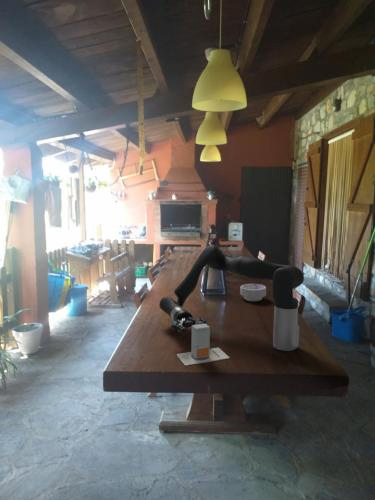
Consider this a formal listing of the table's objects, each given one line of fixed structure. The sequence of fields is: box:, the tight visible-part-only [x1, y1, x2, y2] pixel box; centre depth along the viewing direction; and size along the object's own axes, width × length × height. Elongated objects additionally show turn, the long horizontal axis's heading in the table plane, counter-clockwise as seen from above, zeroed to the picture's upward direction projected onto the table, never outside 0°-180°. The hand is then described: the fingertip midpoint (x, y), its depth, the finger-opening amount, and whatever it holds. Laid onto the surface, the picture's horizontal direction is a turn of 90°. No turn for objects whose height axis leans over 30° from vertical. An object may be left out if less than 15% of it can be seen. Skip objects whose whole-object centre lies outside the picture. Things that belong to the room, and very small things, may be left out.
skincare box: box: [190, 323, 211, 359], centre depth 140 cm, size 6×4×12 cm
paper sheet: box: [175, 347, 230, 367], centre depth 141 cm, size 18×10×1 cm, turn 110°
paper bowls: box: [239, 283, 267, 302], centre depth 218 cm, size 15×15×8 cm
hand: (194, 329), depth 145 cm, fingers open, 8 cm apart
